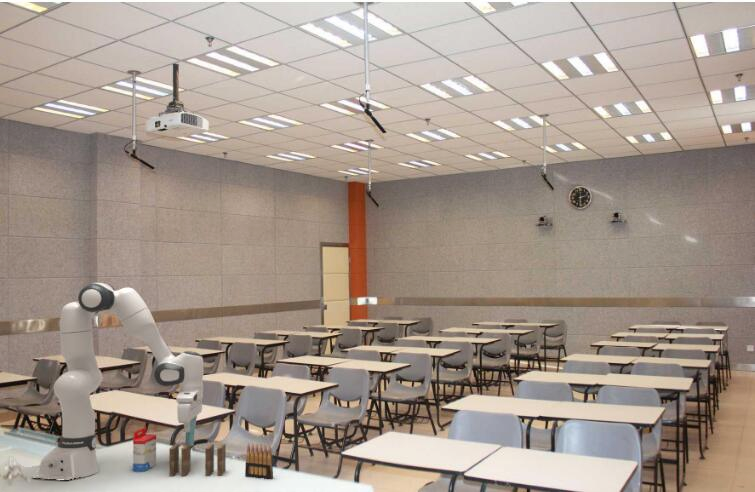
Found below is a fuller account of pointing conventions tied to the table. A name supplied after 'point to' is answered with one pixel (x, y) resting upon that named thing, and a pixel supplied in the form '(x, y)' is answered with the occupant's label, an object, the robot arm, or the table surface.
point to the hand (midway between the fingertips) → (190, 429)
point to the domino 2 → (190, 433)
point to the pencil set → (259, 462)
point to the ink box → (143, 450)
